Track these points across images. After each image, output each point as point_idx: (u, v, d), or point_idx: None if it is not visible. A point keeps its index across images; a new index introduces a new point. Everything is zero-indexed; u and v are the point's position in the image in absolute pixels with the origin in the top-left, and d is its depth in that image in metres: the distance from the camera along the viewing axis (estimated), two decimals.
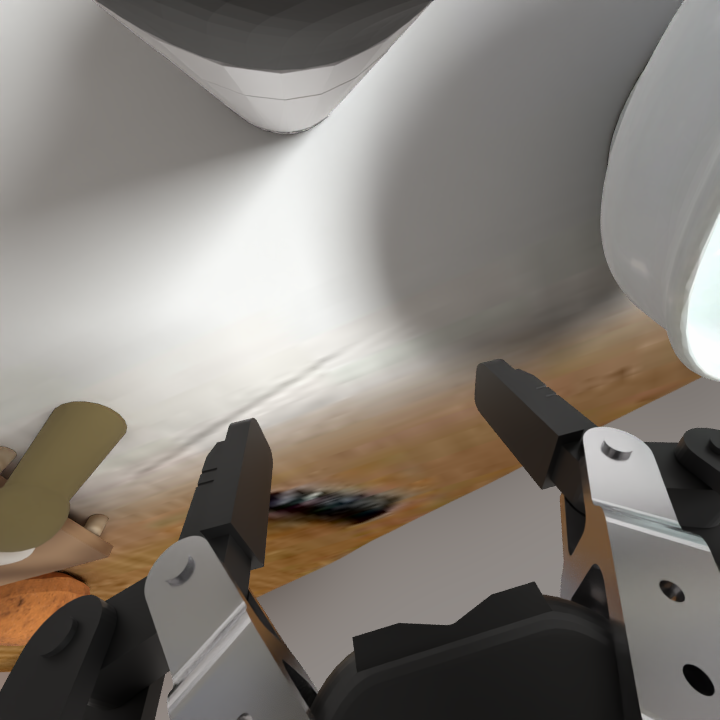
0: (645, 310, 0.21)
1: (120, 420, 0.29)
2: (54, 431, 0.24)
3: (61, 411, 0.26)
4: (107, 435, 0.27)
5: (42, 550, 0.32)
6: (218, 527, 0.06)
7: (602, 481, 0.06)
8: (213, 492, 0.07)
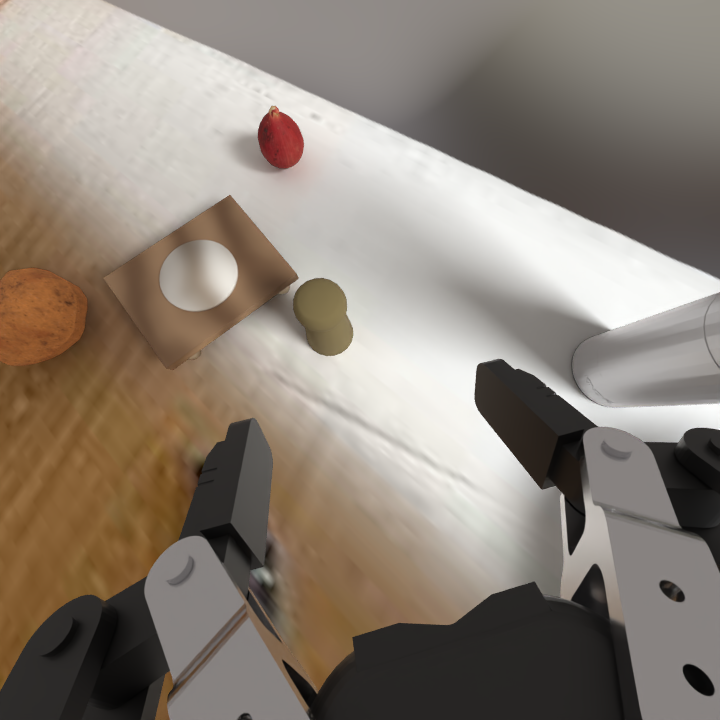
0: None
1: (342, 350, 0.36)
2: (346, 315, 0.34)
3: None
4: (341, 344, 0.34)
5: (182, 316, 0.33)
6: (218, 527, 0.06)
7: (602, 481, 0.06)
8: (213, 492, 0.07)
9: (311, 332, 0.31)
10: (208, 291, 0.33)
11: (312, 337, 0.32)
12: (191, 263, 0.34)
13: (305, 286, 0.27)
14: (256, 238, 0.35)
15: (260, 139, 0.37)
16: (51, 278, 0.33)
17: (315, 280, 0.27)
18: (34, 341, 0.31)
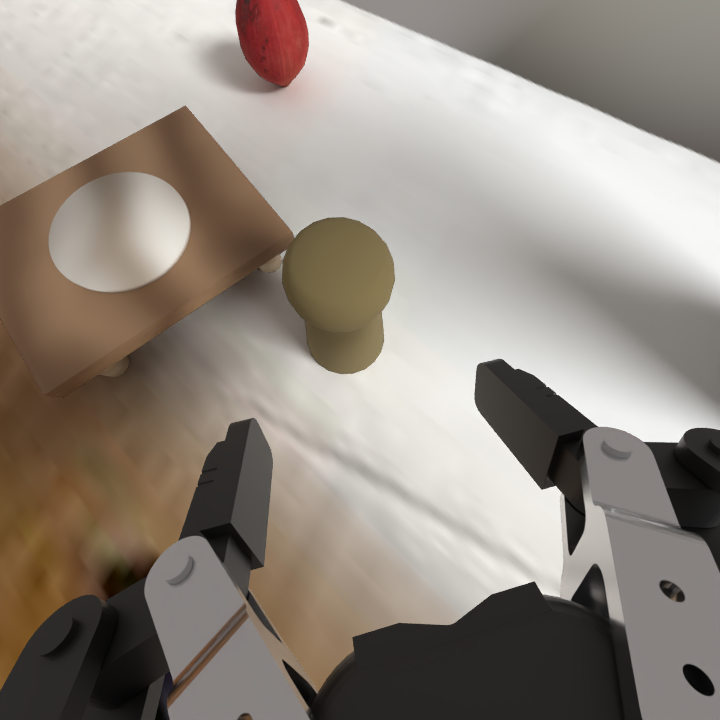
0: None
1: (367, 365, 0.22)
2: None
3: None
4: (367, 356, 0.20)
5: (86, 300, 0.18)
6: (218, 527, 0.06)
7: (602, 481, 0.06)
8: (213, 492, 0.07)
9: (317, 333, 0.16)
10: (134, 257, 0.19)
11: (318, 342, 0.18)
12: (108, 209, 0.19)
13: (309, 230, 0.12)
14: (226, 173, 0.21)
15: (239, 21, 0.23)
16: None
17: (331, 220, 0.13)
18: None
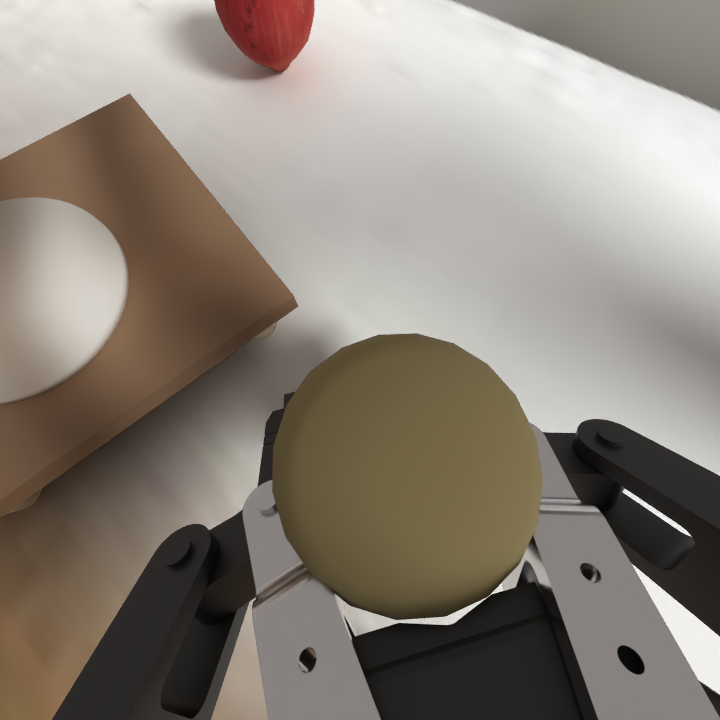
0: None
1: None
2: None
3: None
4: None
5: None
6: None
7: None
8: None
9: None
10: (28, 344, 0.11)
11: None
12: None
13: (341, 384, 0.05)
14: (188, 199, 0.13)
15: None
16: None
17: (392, 352, 0.05)
18: None
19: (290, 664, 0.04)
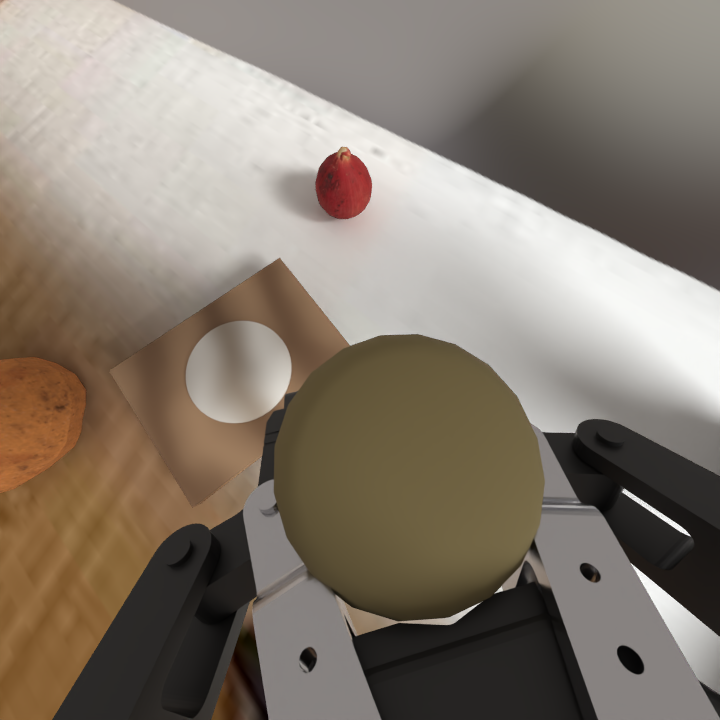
0: None
1: None
2: None
3: None
4: None
5: (216, 429, 0.24)
6: None
7: None
8: None
9: None
10: (252, 395, 0.24)
11: None
12: (229, 353, 0.25)
13: (343, 386, 0.05)
14: (315, 319, 0.26)
15: (320, 186, 0.28)
16: (37, 374, 0.24)
17: (394, 352, 0.05)
18: (9, 468, 0.22)
19: (290, 664, 0.04)
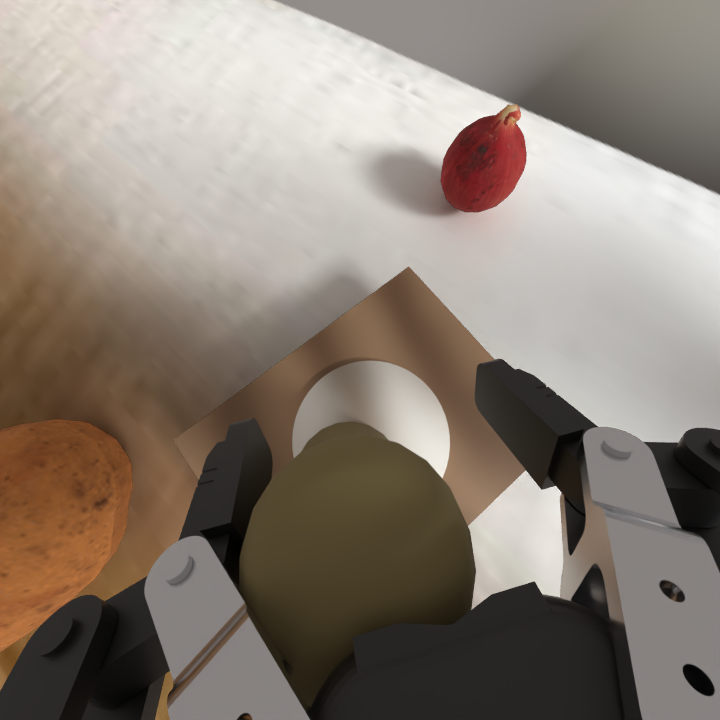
0: None
1: None
2: None
3: None
4: None
5: None
6: (218, 527, 0.06)
7: (602, 481, 0.06)
8: (213, 492, 0.07)
9: None
10: None
11: None
12: (354, 411, 0.17)
13: (297, 510, 0.05)
14: (472, 356, 0.18)
15: (460, 165, 0.20)
16: (65, 453, 0.15)
17: (342, 473, 0.06)
18: (23, 615, 0.14)
19: None
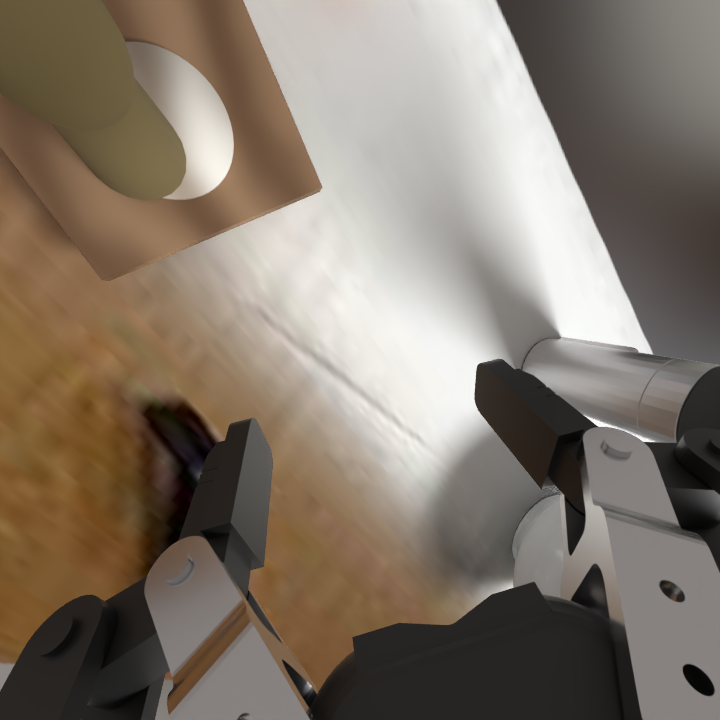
0: (541, 582, 0.39)
1: (161, 195, 0.20)
2: (163, 119, 0.17)
3: (171, 126, 0.19)
4: (151, 181, 0.18)
5: None
6: (218, 527, 0.06)
7: (602, 481, 0.06)
8: (213, 492, 0.07)
9: (52, 123, 0.14)
10: None
11: (66, 140, 0.15)
12: None
13: None
14: (270, 96, 0.22)
15: None
16: None
17: None
18: None
19: None
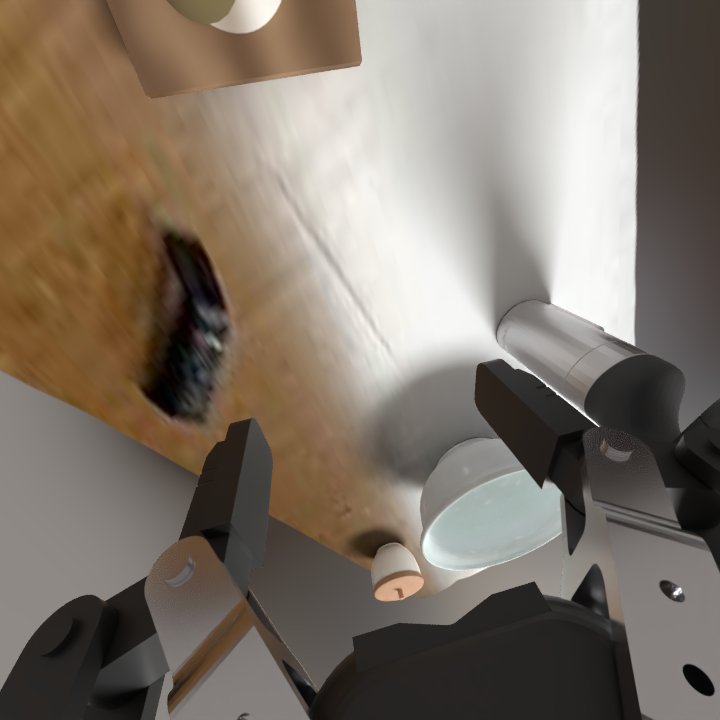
0: (442, 484, 0.50)
1: (208, 20, 0.21)
2: None
3: None
4: (200, 1, 0.20)
5: None
6: (218, 527, 0.06)
7: (602, 481, 0.06)
8: (213, 492, 0.07)
9: None
10: None
11: None
12: None
13: None
14: None
15: None
16: None
17: None
18: None
19: None
